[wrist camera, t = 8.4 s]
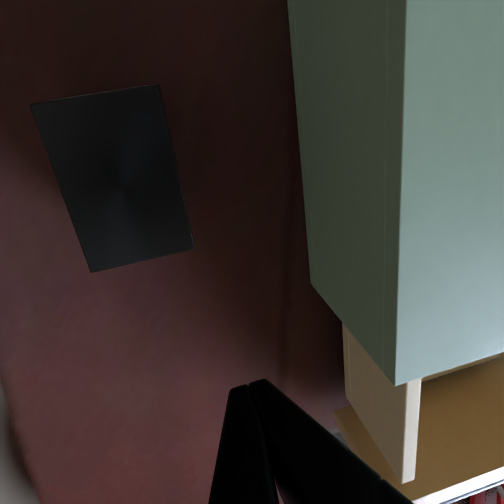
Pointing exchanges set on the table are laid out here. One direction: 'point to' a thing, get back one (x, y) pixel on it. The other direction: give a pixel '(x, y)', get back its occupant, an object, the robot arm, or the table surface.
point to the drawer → (426, 426)
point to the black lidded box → (117, 174)
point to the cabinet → (405, 174)
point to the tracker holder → (479, 499)
